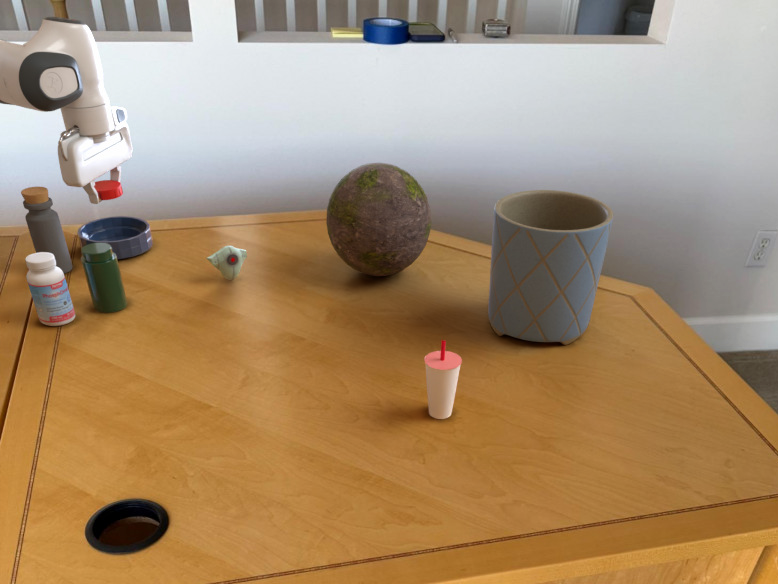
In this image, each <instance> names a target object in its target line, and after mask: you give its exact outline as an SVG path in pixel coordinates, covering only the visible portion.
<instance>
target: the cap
mask: <svg viewBox="0 0 778 584" xmlns="http://www.w3.org/2000/svg"><path fill="white" fill-rule="evenodd" d="M120 182H121V181H120ZM120 182H118V181H115V180H110V179H104V180H97V181H95V186H94V188H95V189H96V191H97V192H100V194H101V198H102V201H110V200H115V199H118V198H121V196H123V194H124V190H123V187H122V182H121V183H120Z"/></svg>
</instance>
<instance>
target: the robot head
mask: <svg viewBox="0 0 778 584" xmlns="http://www.w3.org/2000/svg"><path fill="white" fill-rule="evenodd" d="M247 258H248V253H247V250H246V249H243V248H238V247H234V246H233V245H225V246H223V247H221V248H220V249H218V250H217V251H215V252H214V253H213V254H211V255H209V256H207V257H206V259H207V261H208V262H209V263H210V264H211V265H212V266H213V267H214V268H215V269H216V270H217V271H219V272H220V273H221V275H222V276H223V277H224V278H225V279H226V280H235V279H236V278H238V276H239V275H240V273H241V270H242V266H243V265H244V262H245V260H246V259H247Z"/></svg>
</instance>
